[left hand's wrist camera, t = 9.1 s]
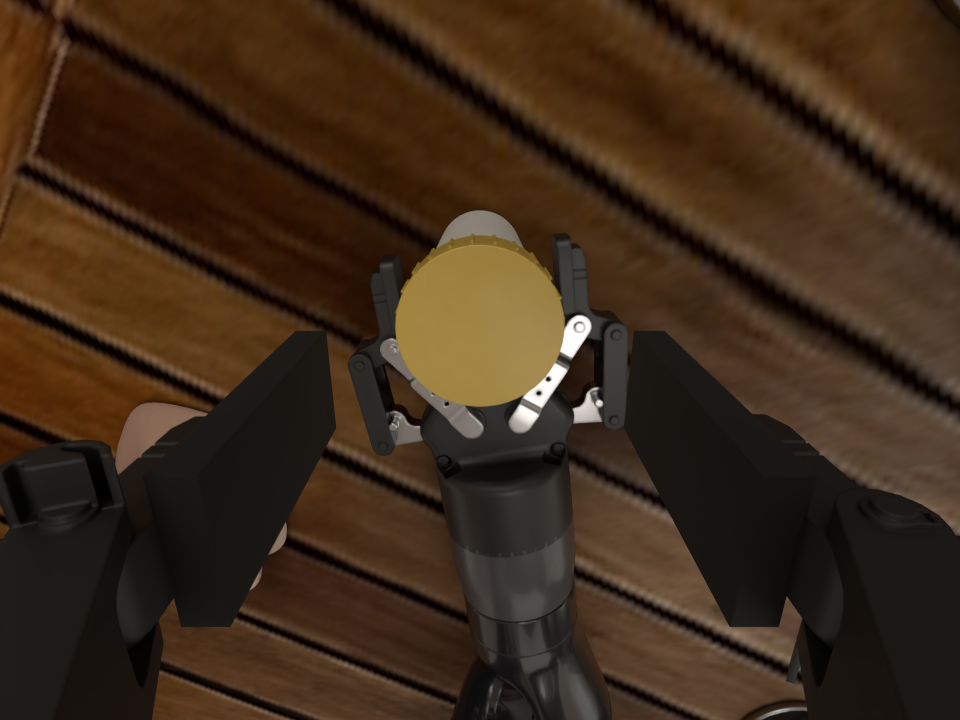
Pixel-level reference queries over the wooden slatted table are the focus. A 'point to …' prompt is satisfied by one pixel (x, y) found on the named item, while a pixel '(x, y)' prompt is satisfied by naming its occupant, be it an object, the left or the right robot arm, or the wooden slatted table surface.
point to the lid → (479, 321)
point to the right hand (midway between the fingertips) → (473, 246)
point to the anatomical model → (151, 426)
